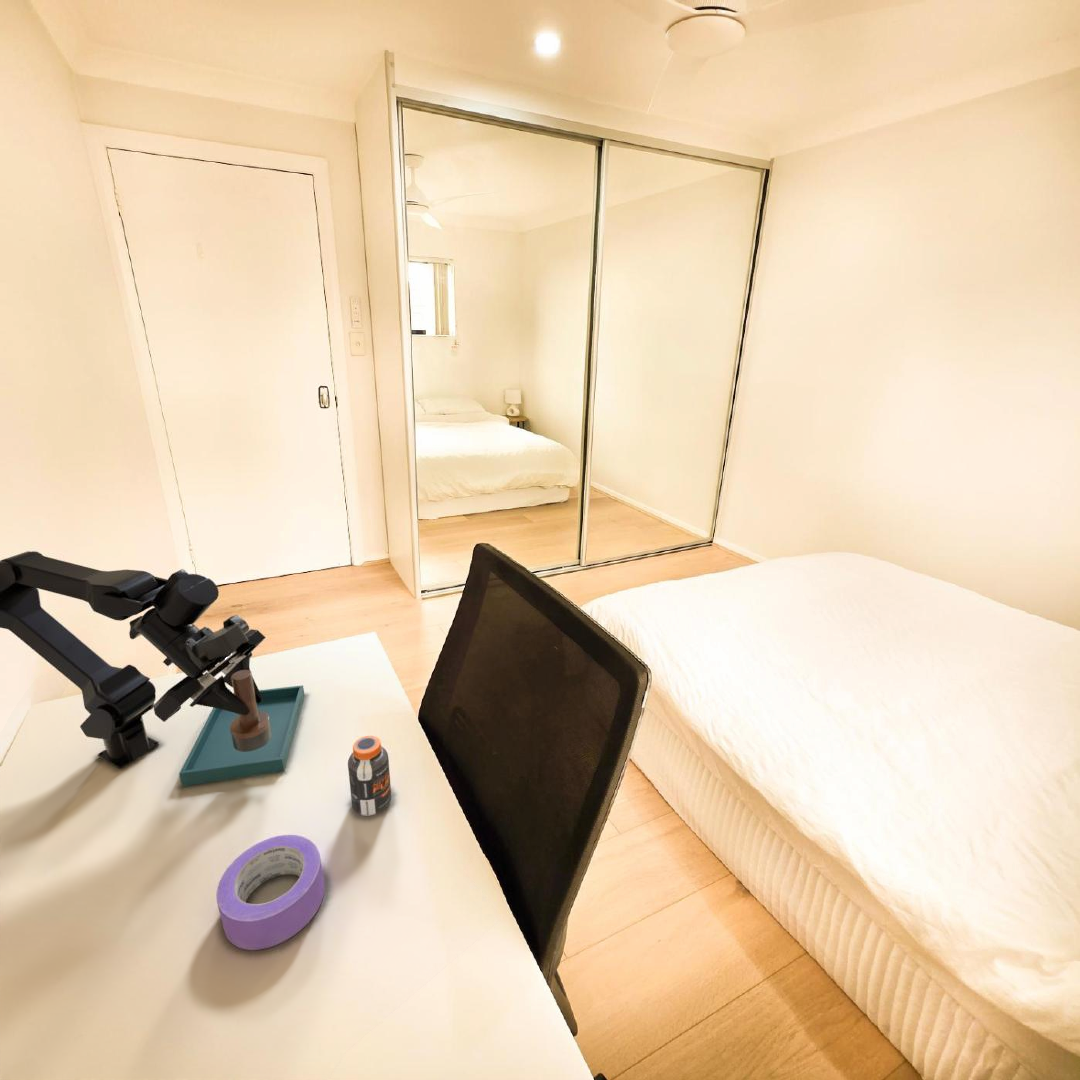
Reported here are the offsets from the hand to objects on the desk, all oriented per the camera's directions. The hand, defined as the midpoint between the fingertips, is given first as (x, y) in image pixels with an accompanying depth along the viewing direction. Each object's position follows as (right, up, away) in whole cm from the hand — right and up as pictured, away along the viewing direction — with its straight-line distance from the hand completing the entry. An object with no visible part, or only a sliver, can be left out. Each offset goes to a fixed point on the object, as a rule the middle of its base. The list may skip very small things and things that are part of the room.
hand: (254, 707), depth 85 cm
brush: (-2, -6, +2) cm, 7 cm away
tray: (-7, -9, +12) cm, 17 cm away
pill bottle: (+19, -15, -1) cm, 24 cm away
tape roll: (+12, -20, -16) cm, 28 cm away
